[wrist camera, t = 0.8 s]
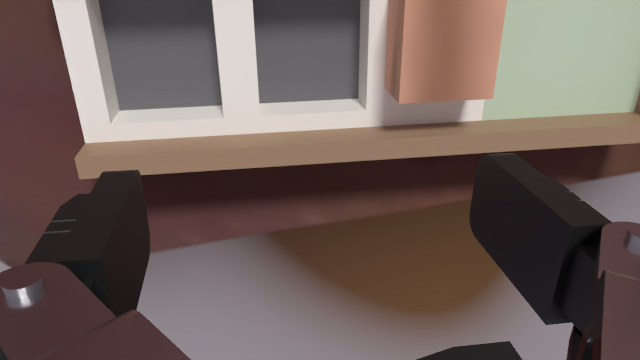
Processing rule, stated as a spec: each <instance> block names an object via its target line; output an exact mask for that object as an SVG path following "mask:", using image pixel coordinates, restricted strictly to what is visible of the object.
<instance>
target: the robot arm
mask: <svg viewBox="0 0 640 360" xmlns="http://www.w3.org/2000/svg"><path fill="white" fill-rule="evenodd" d="M470 225H471V230H472V232H473V234H474V236H475V238H476V239H477V240H478V241H479V243H480V244H481V245H482V246H483V247H484V249H485V250H486V251H487V252H488V254H489V255H490V256H491V257H492V259H493V260H494V261H495V262H496V264H497V265H498V266H499V267H500V268H501V270H502V271H503V272H504V274H505V275H506V276H507V277H508V278H509V280H510V281H511V282H512V283H513V285H514V286H515V287H516V288H517V290H518V291H519V292H520V293H521V295H522V296H523V297H524V298H525V299H526V301H527V302H528V303H529V304H530V306H531V307H532V308H533V309H534V310H535V312H536V313H537V314H538V316H539V317H540V318H541V319H542V320H543V322H544V323H545V324H546V325H548V324H549V325H550V324H559V323H569V322H572V323H573V324H574V326H573V329H572V332H571V336H570V339H569V346H568V353H567V360H640V224H638V223H632V222H613V223H612V222H611V221H609V220H608V219H607V218H605V217H604V216H603V215H602V214H600V213H599V212H598V211H596V210H595V209H594V208H592V207H591V206H590V205H588V204H587V203H586V202H584V201H581V199H580V198H579V197H578V196H576V195H575V194H574V193H572V192H569V190H568V189H567V188H566V187H564V186H563V185H562V184H561V183H559V182H558V181H557V180H555V179H553V178H550V177H548V176H546V175H543V174H541V173H540V172H539V171H538V170H536V169H535V168H534V167H532V166H531V165H530V164H528V163H527V162H526V161H525V160H523V159H522V158H521V157H519V156H518V155H517V154H515V153H506V154H485V155H483V156H482V157H481V158H480V159H479V162H478V165H477V171H476V177H475V183H474V189H473V195H472V201H471V208H470ZM149 256H150V233H149V226H148V219H147V212H146V205H145V198H144V191H143V184H142V179H141V175H140V172H139V170H123V171H103V172H102V173H101V175H100V177H99V179H98V180H97V182H96V184H95V186H94V188H93V190H92V192H91V193H90V194H78V195H76V196H75V197H73V198H72V199H70V200H69V201H67V202H66V203H65V204H63V205H62V206H60V208H59V209H58V211H57V213H56V214H55V216H54V217H53V219H52V222H50V224H49V226H48V227H47V229H46V230H45V234H43V235H42V237H41V238H40V240H39V242H38V243H37V245H36V246H35V248H34V250H33V251H32V253H31V254H30V256H29V258H28V259H27V261H26V263H25V264H24V265H20V266H16V267H13V268H10V269H8V270H6V271H3V272H1V273H0V360H191V359H190V358H188V357H187V356H186V355H185V354H184V353H183V352H182V351H181V350H180V349H179V348H178V347H177V346H176V345H175V344H173V343H172V342H171V341H170V340H169V339H168V338H167V337H166V336H165V335H164V334H163V333H162V332H160V331H159V330H158V329H157V328H156V327H155V326H154V325H153V324H152V323H151V322H150V321H149V320H147V319H146V318H145V317H144V316H143V315H142V314H141V313H140V312H138V311H137V310H136V309H137V305H138V301H139V297H140V292H141V289H142V285H143V281H144V277H145V273H146V269H147V265H148V261H149ZM417 360H522V359H521V357H520V356H519V354H518V353H517V351H516V350H515V348H514V347H513V346H512V344H511V343H510V341H508V342H497V343H488V344H478V345H469V346H459V347H452V348H449V349H446V350H443V351H441V352H437V353H435V354H432V355H429V356H426V357H423V358H420V359H417Z"/></svg>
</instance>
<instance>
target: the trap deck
mask: <svg viewBox="0 0 640 360" xmlns="http://www.w3.org/2000/svg"><path fill="white" fill-rule="evenodd" d="M52 1H53V5H54V9H55V14H56V18H57V23H58V27H59V31H60V36H61V40H62V44H63V49H64V53H65V57H66V62H67V66H68V70H69V75H70V79H71V83H72V88H73V92H74V96H75V101H76V105H77V109H78V114H79V118H80V122H81V127H82V131H83V135H84V140H85V144H84V146H83V147H82V148H81V150H80V151H79V153H78V154H77V155H76V157H75V162H76V166H77V170H78V174H79V179H91V178H99V177H100V175H101V173H102V172H103V171H123V170H139V172H140V175H152V174H168V173H183V172H199V171H214V170H229V169H245V168H260V167H276V166H291V165H306V164H322V163H337V162H353V161H368V160H383V159H399V158H414V157H430V156H445V155H461V154H476V153H491V152H507V151H522V150H538V149H553V148H568V147H584V146H599V145H615V144H630V143H640V0H507V5H506V12H505V19H504V26H503V33H502V40H501V46H500V53H499V60H498V67H497V74H496V81H495V88H494V95H493V99H483V100H463V101H444V102H425V103H406V104H399V103H398V102H397V101H396V100H395V99H394V98H393V97H392V95H391V94H390V93H389V92H388V91H387V90H386V89H385V66H386V45H387V23H388V2H389V0H52Z"/></svg>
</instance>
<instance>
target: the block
mask: <svg viewBox="0 0 640 360" xmlns="http://www.w3.org/2000/svg"><path fill="white" fill-rule="evenodd" d="M506 5H507V0H389V2H388V23H387V45H386V66H385V89H386V90H387V91H388V92H389V93H390V94H391V95H392V97H393V98H394V99H395V100H396V101H397V102H398V103H399V104H406V103H425V102H444V101H463V100H483V99H493V95H494V88H495V81H496V74H497V67H498V60H499V53H500V46H501V40H502V33H503V26H504V19H505V12H506Z"/></svg>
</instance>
